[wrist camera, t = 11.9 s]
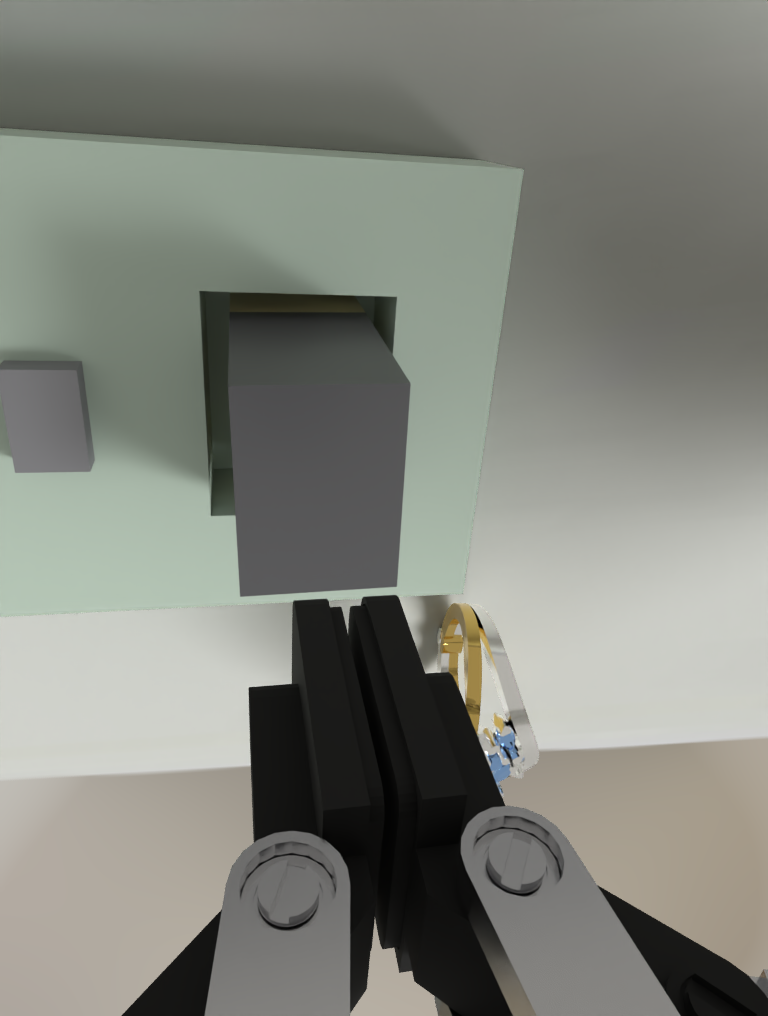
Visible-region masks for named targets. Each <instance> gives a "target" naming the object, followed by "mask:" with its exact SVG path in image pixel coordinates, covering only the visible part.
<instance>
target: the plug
mask: <svg viewBox="0 0 768 1016" xmlns="http://www.w3.org/2000/svg"><path fill="white" fill-rule="evenodd" d="M410 386H411V383H410V382H409V380H408V378H407V377H406V375H405V374H404V372H403V371H402V369H401V367H400V366H399V364H398V363H397V361H396V360H395V358H394V356H393V355H392V353H391V352H390V350H389V349H388V347H387V345H386V344H385V342H384V341H383V339H382V338H381V336H380V334H379V333H378V331H377V330H376V328H375V327H374V325H373V324H372V322H371V320H370V319H369V317H368V316H367V314H366V313H365V311H364V309H363V308H362V306H361V305H360V303H359V302H358V300H357V298H356V297H355V296H353V295H318V294H284V293H230V315H229V363H228V394H229V412H230V429H231V447H232V464H233V482H234V499H235V517H236V534H237V552H238V569H239V587H240V597H246V596H262V595H277V594H293V593H309V592H324V591H340V590H355V589H371V588H386V587H397V579H398V564H399V550H400V535H401V520H402V505H403V490H404V475H405V460H406V445H407V431H408V416H409V401H410Z"/></svg>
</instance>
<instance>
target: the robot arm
mask: <svg viewBox="0 0 768 1016" xmlns="http://www.w3.org/2000/svg"><path fill="white" fill-rule="evenodd" d="M249 720H250V753H251V780H252V807H253V834H254V843H253V844H252V845H251V846H249V847H248V848H247V849H245V850H244V851H243V852H242V853H241V855H240V856H239V857H238V859H237V860H236V862H235V863H234V864H233V866H232V868H231V871H230V874H229V877H228V880H227V883H226V888H225V895H224V901H223V906H222V910H221V911H220V912H219V913H218V914H217V915H216V916H215V917H214V918H213V919H212V921H211V922H210V923H209V924H208V925H207V926H206V927H205V928H204V929H203V930H202V931H201V932H200V933H199V934H198V935H197V936H196V937H195V938H194V940H193V941H192V942H191V943H190V944H189V945H188V946H187V947H186V948H185V949H184V950H183V951H182V952H181V953H180V954H179V955H178V957H177V958H176V959H175V960H174V961H173V962H172V963H171V964H170V965H169V966H168V967H167V968H166V969H165V970H164V971H163V972H162V973H161V974H160V976H159V977H158V978H157V979H156V980H155V981H154V982H153V983H152V984H151V985H150V986H149V987H148V988H147V989H146V990H145V991H144V993H143V994H142V995H141V996H140V997H139V998H138V999H137V1000H136V1001H135V1002H134V1003H133V1004H132V1005H131V1006H130V1007H129V1008H128V1009H127V1011H126V1012H125V1013H124V1014H123V1015H122V1016H350V1013H351V1011H352V1010H353V1008H354V1007H355V1005H356V1004H357V1002H358V1001H359V999H360V998H361V997H362V995H363V994H364V992H365V991H366V989H367V978H368V969H369V959H370V951H371V948H372V939H373V938H372V937H373V929H374V919H376V924H377V930H378V935H379V940H380V944H381V947H382V949H387V948H393V947H394V948H395V952H396V958H397V963H398V968H399V973H400V972H406V971H412V972H413V977H414V981H415V982H416V983H417V984H419V985H420V986H422V987H423V988H424V989H426V990H427V991H429V992H430V993H431V994H433V995H434V996H435V1004H436V1008H437V1012H438V1016H768V970H765V969H764V970H763V971H762V973H761V975H760V977H750V976H748V975H747V974H745V973H744V972H743V971H741V970H740V969H738V968H737V967H736V966H734V965H733V964H732V963H730V962H729V961H727V960H725V959H723V958H722V957H720V956H718V955H717V954H715V953H713V952H711V951H710V950H708V949H706V948H705V947H703V946H701V945H699V944H698V943H696V942H694V941H692V940H691V939H689V938H687V937H685V936H684V935H682V934H680V933H678V932H677V931H675V930H673V929H672V928H670V927H668V926H666V925H665V924H663V923H661V922H660V921H658V920H656V919H654V918H652V917H651V916H649V915H648V914H646V913H644V912H642V911H641V910H639V909H637V908H635V907H634V906H632V905H630V904H629V903H627V902H625V901H623V900H622V899H620V898H618V897H617V896H615V895H613V894H611V893H610V892H608V891H606V890H604V889H603V888H601V887H599V886H598V885H597V884H596V883H595V881H594V880H593V878H592V877H591V875H590V873H589V872H588V870H587V869H586V867H585V866H584V864H583V862H582V861H581V860H580V858H579V856H578V855H577V853H576V852H575V850H574V848H573V847H572V845H571V844H570V842H569V841H568V839H567V838H566V837H565V836H564V834H563V833H562V832H561V831H560V830H559V829H558V827H557V826H556V825H554V824H553V823H552V822H550V821H549V820H547V819H546V818H545V817H543V816H542V815H540V814H537V813H534V812H533V811H530V810H528V809H525V808H519V807H513V806H505V804H504V802H503V799H502V796H501V794H500V791H499V789H498V786H497V784H496V781H495V779H494V776H493V774H492V771H491V769H490V766H489V764H488V761H487V759H486V756H485V754H484V751H483V749H482V746H481V744H480V741H479V739H478V736H477V734H476V731H475V729H474V726H473V724H472V721H471V718H470V716H469V713H468V711H467V708H466V706H465V703H464V701H463V698H462V696H461V693H460V691H459V688H458V686H457V683H456V681H455V679H454V677H453V675H452V674H451V673H449V672H441V673H428V674H425V672H424V669H423V666H422V663H421V660H420V657H419V654H418V652H417V649H416V646H415V643H414V640H413V637H412V634H411V632H410V629H409V626H408V623H407V620H406V617H405V615H404V612H403V609H402V606H401V603H400V600H399V598H398V596H397V595H383V596H365V597H363V598H362V602H361V606H351V607H350V613H349V629H348V633H347V629H346V625H345V620H344V616H343V612H342V608H341V607H330V606H329V602H328V599H310V600H294V601H293V618H292V684H286V685H273V686H261V687H249Z"/></svg>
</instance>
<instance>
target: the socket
mask: <svg viewBox="0 0 768 1016" xmlns="http://www.w3.org/2000/svg"><path fill="white" fill-rule="evenodd" d="M523 172H524V169H520V168H515V167H511V166H506V165H502V164H497V163H492V162H488V161H483V160H474V159H459V158H444V157H429V156H414V155H399V154H384V153H369V152H354V151H339V150H324V149H309V148H294V147H279V146H264V145H249V144H234V143H219V142H204V141H189V140H174V139H159V138H144V137H129V136H114V135H99V134H84V133H69V132H54V131H40V130H25V129H10V128H0V617H9V616H29V615H49V614H69V613H89V612H109V611H129V610H149V609H168V608H188V607H208V606H228V605H248V604H268V603H288V602H293V601H294V600H310V599H328V600H348V599H362V598H363V597H365V596H383V595H397V596H398V597H408V596H428V595H448V594H463V590H464V583H465V576H466V569H467V562H468V555H469V549H470V542H471V535H472V528H473V521H474V514H475V507H476V500H477V493H478V486H479V479H480V472H481V465H482V458H483V451H484V444H485V437H486V430H487V423H488V416H489V409H490V402H491V395H492V388H493V381H494V374H495V367H496V360H497V353H498V346H499V339H500V332H501V325H502V318H503V312H504V305H505V298H506V291H507V284H508V277H509V270H510V263H511V256H512V249H513V242H514V235H515V228H516V221H517V214H518V207H519V200H520V193H521V186H522V179H523ZM230 293H284V294H318V295H353V296H355V297H356V298H357V300H358V302H359V303H360V305H361V306H362V308H363V309H364V311H365V313H366V314H367V316H368V317H369V319H370V320H371V322H372V324H373V325H374V327H375V328H376V330H377V331H378V333H379V334H380V336H381V338H382V339H383V341H384V342H385V344H386V345H387V347H388V349H389V350H390V352H391V353H392V355H393V356H394V358H395V360H396V361H397V363H398V364H399V366H400V367H401V369H402V371H403V372H404V374H405V375H406V377H407V378H408V380H409V382H410V383H411V386H410V401H409V416H408V431H407V445H406V460H405V475H404V490H403V505H402V520H401V535H400V550H399V564H398V579H397V587H386V588H371V589H355V590H340V591H324V592H309V593H293V594H277V595H262V596H246V597H240V587H239V569H238V552H237V534H236V517H235V499H234V482H233V464H232V447H231V429H230V412H229V394H228V363H229V315H230Z"/></svg>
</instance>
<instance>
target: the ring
mask: <svg viewBox="0 0 768 1016" xmlns="http://www.w3.org/2000/svg"><path fill="white" fill-rule="evenodd" d="M462 636H463V637H462ZM437 643H438V644H439V645H438V657H437V673H441V672H449V673H451V674H452V675H453V677H454V679H455V681H456V683H457V686H458V688H459V685H458V653H461V651H462V647H463V646H464V673H465V698H466V704H465V706H466V708H467V711H468V713H469V716H470V718H471V721H472V724H473V726H474V729H475V731H476V734H477V736H478V739H479V741H480V744H481V746H482V749H483V751H484V754H485V756H486V759H487V761H488V764H489V766H490V769H491V771H492V774H493V776H494V779H495V781H496V784H497V786H498V789H499V791H500V794H501V796H504V794H503V791H502V789H501V786H500V783H499V781H502V780H504V779H505V778H508V777H511V776H515V778H523V772H524V771H526V770H528V769H529V768H531V767H533V766H534V765H535V764H536V763H537V762H538V759H539V750H538V745H537V742H536V739H535V736H534V733H533V730H532V727H531V725H530V722H529V719H528V716H527V713H526V710H525V707H524V704H523V701H522V698H521V695H520V692H519V689H518V686H517V683H516V680H515V677H514V674H513V671H512V668H511V665H510V662H509V660H508V657H507V654H506V651H505V648H504V646H503V643H502V640H501V638H500V635H499V633H498V630H497V628H496V626H495V624H494V622H493V620H492V618H491V616H490V615H489V613H488V612H487V611H486V610H485V609H484V608H483V607H482V606H480V605H478V604H466V603H453V604H452V605H451V606H450V607H449V608H448V610H447V612H446V615H445V618H444V621H443V624H442V628H439V630H438V635H437ZM481 644H482V647H483V650H484V653H485V657H486V660H487V663H488V666H489V669H490V672H491V675H492V678H493V681H494V684H495V687H496V690H497V693H498V696H499V699H500V702H501V705H502V708H503V711H504V713H505V716H506V719H507V721H506V720H505V719H504V718H503V716H502V715H500V714H498V713H494V715H493V718H492V722H493V732H494V733H493V732H492V731H491V729H490V728H489V727H487V728H486V727H484V726H482V725H479V716H480V703H481V684H482V656H481ZM515 743H516V745H515Z"/></svg>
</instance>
